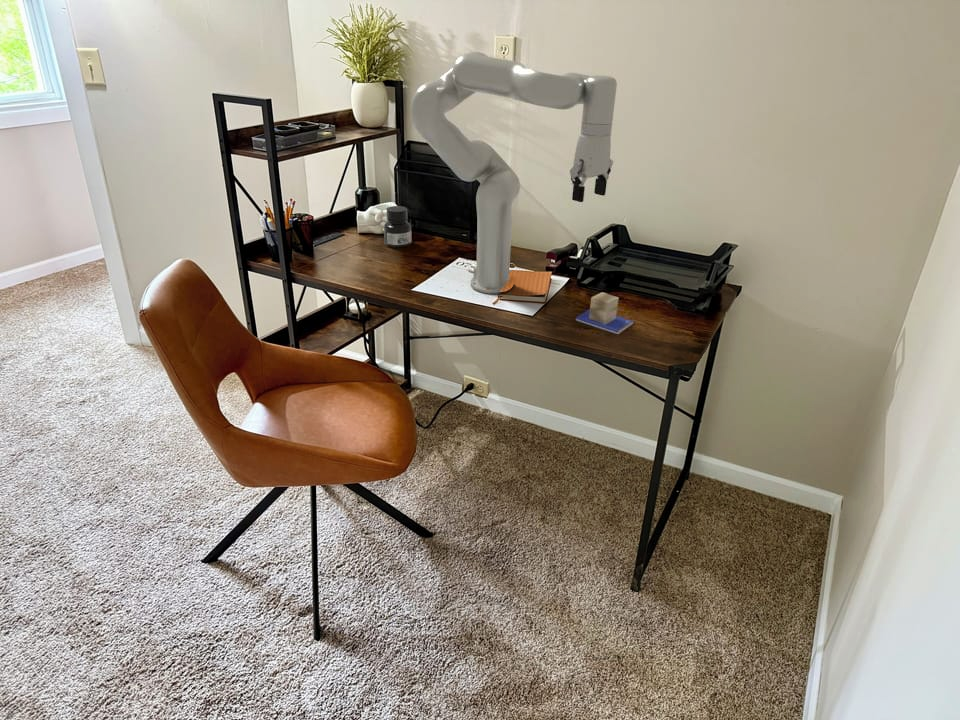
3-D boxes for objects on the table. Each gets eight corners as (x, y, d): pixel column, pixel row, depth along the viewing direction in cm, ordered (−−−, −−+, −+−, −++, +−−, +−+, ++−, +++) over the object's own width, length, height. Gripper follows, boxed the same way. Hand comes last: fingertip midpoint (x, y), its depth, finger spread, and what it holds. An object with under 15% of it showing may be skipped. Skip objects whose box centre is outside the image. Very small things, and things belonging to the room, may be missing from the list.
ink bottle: (388, 250, 218) (386, 214, 213) (380, 241, 225) (378, 206, 220) (416, 246, 222) (415, 211, 216) (407, 238, 229) (406, 203, 223)
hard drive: (633, 320, 174) (591, 307, 181) (618, 330, 168) (576, 317, 175) (632, 326, 175) (591, 312, 181) (617, 336, 169) (575, 322, 176)
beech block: (588, 318, 174) (591, 297, 172) (599, 312, 178) (602, 292, 175) (605, 324, 171) (607, 303, 169) (615, 318, 175) (618, 297, 172)
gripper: (603, 124, 175) (596, 189, 183) (562, 131, 164) (557, 200, 172) (628, 128, 170) (619, 195, 178) (587, 135, 159) (580, 206, 167)
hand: (588, 197), depth 175 cm, fingers open, 9 cm apart
